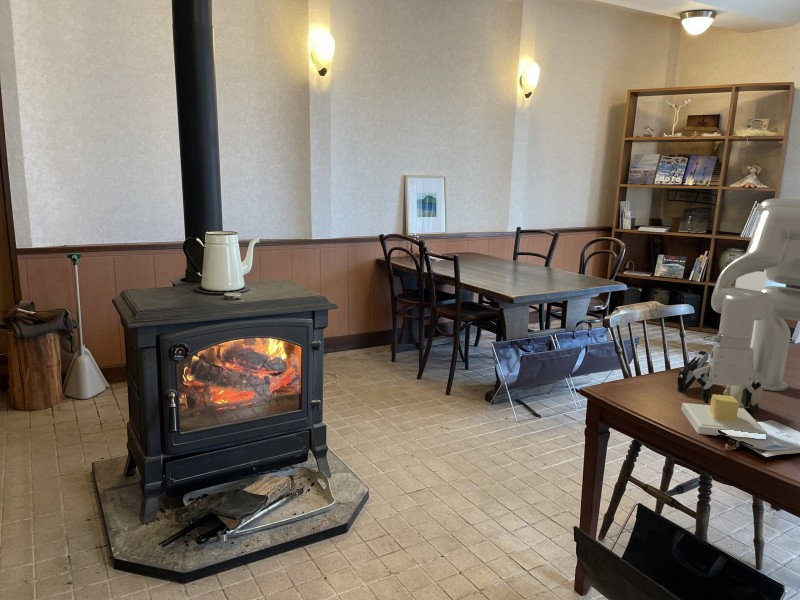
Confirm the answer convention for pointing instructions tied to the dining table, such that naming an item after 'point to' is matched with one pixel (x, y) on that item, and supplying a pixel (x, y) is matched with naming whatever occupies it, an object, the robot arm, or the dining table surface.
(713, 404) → the mustard cube
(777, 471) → the dining table surface
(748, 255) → the robot arm
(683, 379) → the toy gun
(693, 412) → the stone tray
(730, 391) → the decorative object
